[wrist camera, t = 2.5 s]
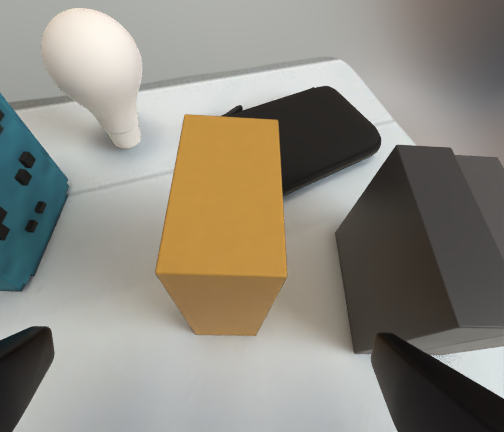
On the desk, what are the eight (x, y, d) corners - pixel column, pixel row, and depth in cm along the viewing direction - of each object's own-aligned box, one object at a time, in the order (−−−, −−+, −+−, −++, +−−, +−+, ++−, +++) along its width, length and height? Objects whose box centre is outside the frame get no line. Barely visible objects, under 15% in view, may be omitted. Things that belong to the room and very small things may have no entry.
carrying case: (317, 93, 32) (198, 134, 28) (325, 68, 30) (194, 108, 25) (382, 157, 28) (252, 218, 24) (397, 134, 25) (254, 197, 21)
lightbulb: (82, 140, 27) (2, 5, 17) (141, 113, 29) (99, -19, 20) (115, 181, 25) (44, 53, 15) (175, 148, 27) (147, 20, 17)
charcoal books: (415, 235, 24) (520, 151, 15) (453, 355, 19) (634, 331, 11) (335, 232, 23) (396, 144, 15) (354, 353, 19) (458, 327, 10)
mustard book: (256, 240, 23) (278, 119, 12) (256, 335, 19) (287, 277, 9) (205, 238, 22) (184, 113, 12) (195, 334, 19) (154, 273, 8)
